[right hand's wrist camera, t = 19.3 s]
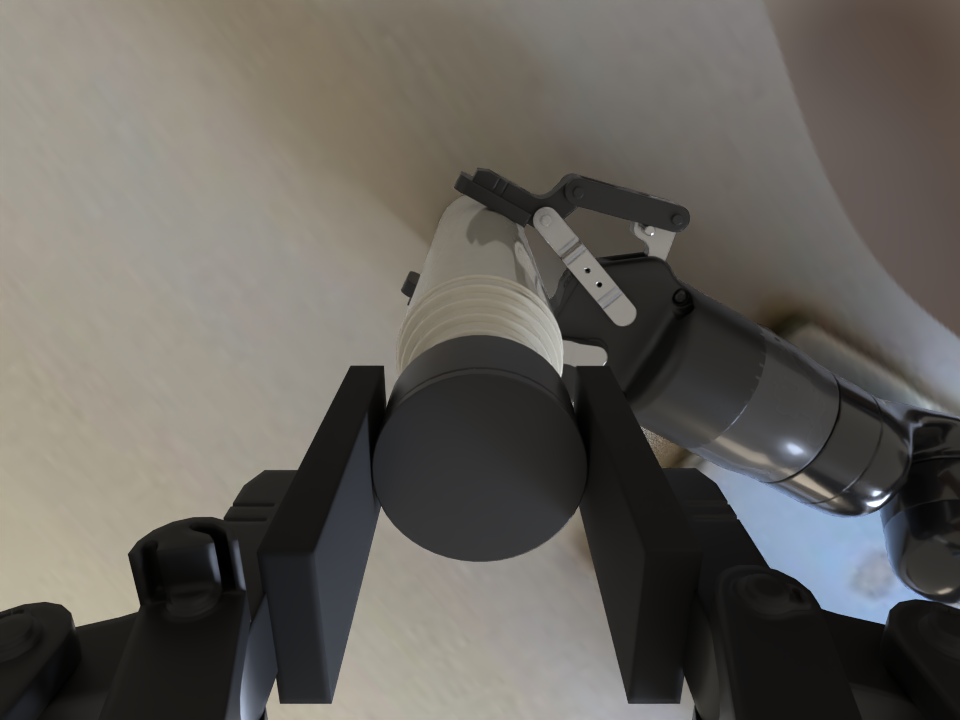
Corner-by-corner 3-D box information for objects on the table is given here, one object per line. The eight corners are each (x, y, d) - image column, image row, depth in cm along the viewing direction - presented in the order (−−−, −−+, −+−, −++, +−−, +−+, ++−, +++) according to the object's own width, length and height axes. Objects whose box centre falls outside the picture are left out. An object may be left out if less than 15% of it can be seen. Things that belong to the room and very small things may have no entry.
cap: (456, 528, 16) (453, 594, 14) (349, 398, 15) (326, 448, 12) (606, 442, 15) (627, 499, 13) (506, 296, 14) (511, 331, 12)
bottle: (539, 225, 37) (646, 432, 13) (489, 292, 38) (505, 588, 14) (469, 174, 36) (449, 298, 12) (421, 245, 37) (318, 481, 13)
